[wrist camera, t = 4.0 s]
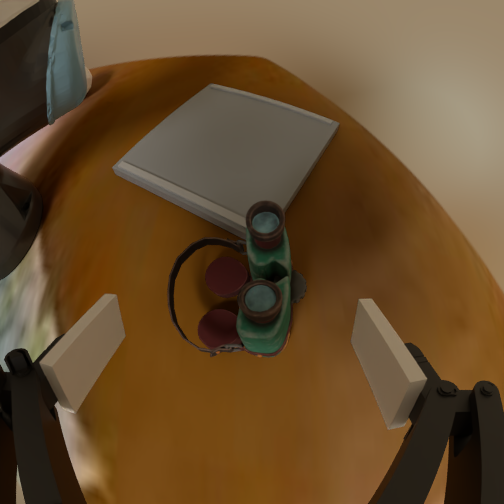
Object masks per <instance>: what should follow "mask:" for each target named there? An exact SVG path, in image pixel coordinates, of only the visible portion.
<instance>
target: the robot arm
mask: <svg viewBox="0 0 504 504" xmlns="http://www.w3.org/2000/svg"><path fill="white" fill-rule="evenodd" d="M86 93H87V79H86V71H85V65H84V58H83V52H82V46H81V39H80V32H79V26H78V20H77V15H76V10H75V4H74V1H73V0H59V1H58V2H56V0H0V157H1V156H2V155H4V154H5V153H6V152H8V151H9V150H10V149H12V148H13V147H15V146H16V145H18V144H19V143H20V142H22V141H23V140H25V139H26V138H28V137H29V136H31V135H32V134H34V133H35V132H37V131H39V130H40V129H42V128H43V127H45V126H47V125H48V124H49V125H52V124H53V123H54V122H55V120H56V119H58V118H59V117H61V116H63V115H64V114H66V113H67V112H69V111H71V110H73V109H74V108H76V107H77V106H79V105H80V104H81V103H82V101H83V100H84V98H85V96H86ZM42 209H43V202H42V197H41V194H40V192H39V191H38V190H37V189H36V187H35V186H34V185H33V184H32V182H31V181H29V180H28V179H26V178H25V177H23V176H21V175H19V174H17V173H16V172H14V171H12V170H10V169H9V168H7V167H5V166H3V165H2V164H0V280H1V279H3V278H4V277H6V276H7V275H8V274H9V273H10V272H11V271H12V270H13V269H14V268H15V267H16V266H17V265H18V264H19V262H20V261H21V260H22V258H23V257H24V255H25V254H26V252H27V251H28V249H29V247H30V245H31V243H32V241H33V239H34V237H35V235H36V233H37V230H38V227H39V224H40V220H41V216H42ZM124 338H125V331H124V327H123V323H122V319H121V314H120V310H119V305H118V300H117V295H114V294H105V295H104V296H102V297H101V298H100V299H99V300H98V301H97V302H96V303H95V304H94V305H93V306H92V307H91V308H90V309H89V310H88V311H87V312H86V313H85V314H84V315H83V316H82V317H81V318H80V320H79V321H78V322H77V323H76V324H75V325H74V326H73V327H72V328H71V329H70V330H69V331H68V332H67V333H66V334H63V335H61V336H59V337H58V338H56V339H55V340H54V341H53V342H52V343H51V345H49V346H48V347H47V349H46V350H45V351H44V352H43V353H42V354H41V355H40V356H39V357H38V358H37V359H36V360H35V362H34V363H33V362H32V360H31V358H30V355H29V353H28V351H27V350H26V349H22V348H19V349H15V350H12V351H11V352H9V353H8V354H7V355H6V356H5V359H4V360H5V362H6V365H7V367H8V369H9V371H10V372H4V371H3V369H2V367H1V365H0V504H16V476H17V465H18V471H19V476H20V482H21V486H22V491H23V495H24V499H25V503H26V504H87V503H86V501H85V498H84V496H83V493H82V491H81V488H80V486H79V483H78V481H77V478H76V475H75V472H74V469H73V466H72V463H71V460H70V457H69V454H68V451H67V447H66V444H65V440H64V437H63V433H62V429H61V425H60V421H59V417H58V412H57V409H56V407H55V406H54V405H55V404H56V402H57V401H58V402H59V404H60V405H61V407H62V409H63V410H66V411H69V412H72V413H76V412H77V410H78V409H79V407H80V405H81V404H82V402H83V400H84V399H85V397H86V396H87V394H88V392H89V391H90V389H91V388H92V386H93V385H94V383H95V381H96V380H97V378H98V377H99V375H100V374H101V372H102V371H103V369H104V367H105V366H106V364H107V363H108V361H109V360H110V358H111V357H112V355H113V354H114V352H115V351H116V349H117V348H118V346H119V345H120V343H121V342H122V340H123V339H124ZM351 344H352V346H353V348H354V350H355V353H356V355H357V357H358V359H359V362H360V364H361V366H362V368H363V371H364V373H365V375H366V378H367V380H368V382H369V385H370V387H371V389H372V392H373V394H374V396H375V399H376V401H377V404H378V406H379V409H380V411H381V413H382V416H383V418H384V421H385V423H386V426H387V428H388V430H389V429H394V428H398V427H403V426H404V425H405V423H406V421H407V420H408V418H410V420H411V422H412V425H411V426H410V428H409V430H408V432H407V433H406V435H405V437H404V438H403V439H404V441H403V443H402V445H401V447H400V449H399V451H398V453H397V455H396V457H395V459H394V461H393V463H392V465H391V466H390V468H389V470H388V472H387V474H386V475H385V477H384V479H383V481H382V482H381V484H380V486H379V487H378V489H377V490H376V492H375V494H374V495H373V497H372V498H371V500H370V501H369V503H368V504H424V502H425V500H426V498H427V495H428V493H429V491H430V488H431V486H432V484H433V481H434V479H435V476H436V474H437V471H438V468H439V466H440V463H441V460H442V457H443V454H444V451H445V448H446V445H447V442H448V438H449V457H448V472H447V483H446V492H445V500H444V504H504V412H503V407H502V402H501V398H500V394H499V390H498V388H497V387H496V386H495V385H494V384H493V383H491V382H489V381H479V382H477V383H476V385H475V386H474V388H473V390H459V389H458V388H457V386H456V385H455V384H453V383H452V382H449V381H446V380H441V379H440V377H439V376H438V375H437V373H436V372H435V370H434V369H433V367H432V366H431V365H430V363H429V362H428V360H427V359H426V357H424V355H423V353H422V352H421V351H420V349H419V348H418V347H416V346H415V345H413V344H412V343H405V344H404V343H403V342H402V340H401V339H400V337H399V336H398V335H397V333H396V332H395V330H394V329H393V327H392V326H391V325H390V323H389V322H388V320H387V319H386V318H385V316H384V315H383V313H382V312H381V311H380V309H379V308H378V307H377V305H376V304H375V302H374V301H373V300H372V299H358V305H357V311H356V317H355V322H354V327H353V332H352V337H351Z"/></svg>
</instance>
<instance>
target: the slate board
mask: <svg viewBox="0 0 504 504" xmlns="http://www.w3.org/2000/svg"><path fill="white" fill-rule="evenodd" d="M339 124H340V123H338V122H335V121H333V120H330V119H328V118H325V117H323V116H320V115H317V114H315V113H312V112H309V111H306V110H303V109H301V108H298V107H295V106H292V105H289V104H286V103H283V102H279V101H276V100H273V99H270V98H266V97H263V96H259V95H256V94H252V93H249V92H245V91H241V90H237V89H233V88H229V87H225V86H221V85H216V84H210V85H208V86H207V87H205V88H204V89H203V90H201V91H200V92H199V93H197V94H196V95H195V96H193V97H192V98H191V99H189V100H188V101H187V102H185V103H184V104H183V105H182V106H180V107H179V108H178V109H177V110H175V111H174V112H173V113H172V114H170V115H169V116H168V117H167V118H166V119H164V120H163V121H162V122H161V123H160V124H159V125H157V126H156V127H155V128H154V129H153V130H152V131H150V132H149V133H148V134H147V135H146V136H145V137H144V138H143V139H142V140H140V141H139V142H138V143H137V144H136V145H135V146H134V147H133V148H132V149H131V150H130V151H129V152H128V153H127V154H126V155H124V156H123V157H122V158H121V159H120V160H119V161H118V162H117V163H116V164H115V165H114V166H113V167H112V168H113V170H114V172H115V174H116V175H118V176H120V177H122V178H124V179H126V180H128V181H130V182H132V183H134V184H136V185H138V186H140V187H142V188H144V189H146V190H148V191H150V192H152V193H154V194H156V195H158V196H160V197H162V198H164V199H166V200H168V201H170V202H172V203H174V204H176V205H178V206H180V207H182V208H184V209H186V210H188V211H189V212H191V213H193V214H195V215H197V216H199V217H201V218H203V219H205V220H207V221H209V222H211V223H213V224H215V225H217V226H219V227H221V228H223V229H225V230H227V231H229V232H231V233H233V234H235V235H236V236H238V237H240V238H242V239H244V240H246V214H247V212H248V210H249V208H250V207H251V206H252V205H253V204H255V203H257V202H259V201H264V200H267V201H272V202H275V203H276V204H278V205H279V206H280V207H281V208H282V210H283V211H284V213H285V212H286V210H287V208H288V207H289V205H290V204H291V202H292V201H293V199H294V198H295V196H296V195H297V193H298V191H299V190H300V188H301V187H302V185H303V184H304V182H305V181H306V179H307V177H308V176H309V174H310V173H311V171H312V170H313V168H314V167H315V165H316V164H317V162H318V160H319V159H320V157H321V156H322V154H323V153H324V151H325V150H326V148H327V146H328V145H329V143H330V142H331V140H332V139H333V137H334V136H335V134H336V132H337V131H338V128H339Z"/></svg>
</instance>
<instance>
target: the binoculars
mask: <svg viewBox="0 0 504 504" xmlns="http://www.w3.org/2000/svg"><path fill="white" fill-rule="evenodd" d="M243 244H245V245H247V252H244V247H243ZM206 245H222V246H226V247H229V248H232V249H234V250H236V251H237V252H240V253H241V254H242V255H248V261H249V267H250V272H251V276H250V275H249V273H248V271H247V270H246V268H245V267H244V266H243V264H242V263H240V262H239V261H238V260H236V259H234V258H231V257H221V258H218V259H216V260H214V261H213V262H212V263H211V264H210V265H209V267H208V268H207V271H206V274H205V280H206V284H207V286H208V287H209V289H210V290H211V291H213V292H214V293H215V294H217V295H218V296H221V297H225V298H228V297H233V296H236V295H238V296H237V302H238V306H239V307H240V308H239V312H238V316H236V315H235V314H233V313H232V312H230V311H227V310H224V309H216V310H212V311H210V312H208V313H207V314H205V315H204V316H203V318H202V319H201V320H200V322H199V325H198V335H199V338H200V340H201V341H202V342H203V343H204V344H205V345H206V346H207V347H208V348H209V349H204V348H199V347H198V346H196V345H195V344H193V343H192V342H190V341H189V340H188V339H187V337H186V336H185V334H184V333H183V331H182V330H181V328H180V327H179V325H178V323H177V319H176V314H175V310H174V286H175V279H176V277H177V274H178V272H179V270H180V267H181V265H182V263H183V262H184V261H185V260H186V259H187V258H189V257H190V256H191V255H192V254H193V253H194V252H195V251H196V250H197V249H200V248H202V247H204V246H206ZM292 263H293V261H292V260H291V255H290V246H289V240H288V236H287V232H286V229H285V214H284V211H283V210H282V208H281V207H280V206H279V205H278V204H276V203H275V202H272V201H267V200H264V201H259V202H257V203H255V204H253V205H252V206H251V207H250V208H249V210H248V212H247V214H246V241H242V240H237V241H232V240H230V239H228V238H227V240H225V239H221V238H217V237H204V238H202V239H200V240H198V241H196V242H194V243H192V244H191V245H190V246H188V247H187V248H186V249H185V250H184V251H183V252H182V253H181V254H180V255H179V256H178V257H177V258H176V261H175V263H174V265H173V268H172V270H171V273H170V275H169V282H168V307H169V312H170V316H171V320H172V322H173V324H174V326H175V327H176V329H177V330H178V332H179V334H180V335H181V337H182V338H183V339H184V340H186V341H187V342H188V343H190V344H191V345H193V346H194V347H196V348H197V349H199V350H200V351H203V352H210V353H211V354H210V357H212V356H216V355H217V354H219V353H220V352H235V351H243V350H245V351H246V352H248V353H250V354H253V355H256V356H258V357H274V356H276V355H278V354H279V353H280V352H281V351H283V350H284V349H285V348H286V346H287V343H288V340H289V336H290V328H291V325H292V312H293V303H295V302H296V303H298V302H299V300H300V299H301V298H302V299H303V297H304V295H305V292H306V289H307V286H306V280H305V279H304V278H303V275H302V274H301V273H300V274H299V273H298V272H297V271H296V270H293V266H292ZM243 346H245V348H244V347H243ZM235 347H238V348H235Z"/></svg>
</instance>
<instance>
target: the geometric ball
mask: <svg viewBox="0 0 504 504" xmlns="http://www.w3.org/2000/svg"><path fill="white" fill-rule="evenodd" d="M85 71H86V79H87V92H88V91H89V89H90V88H91V84H92V75H91V73H90V71H89V69H88V68H86V67H85ZM86 94H87V93H86Z"/></svg>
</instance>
